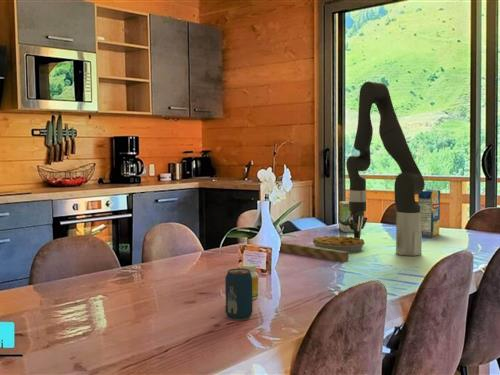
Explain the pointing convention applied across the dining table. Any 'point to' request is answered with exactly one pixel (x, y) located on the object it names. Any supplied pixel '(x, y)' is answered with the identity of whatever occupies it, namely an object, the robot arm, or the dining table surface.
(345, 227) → the tea box
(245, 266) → the supplement bottle
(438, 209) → the beverage box
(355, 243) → the pie
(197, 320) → the dining table surface
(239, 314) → the soda can
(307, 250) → the walnut board
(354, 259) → the dining table surface
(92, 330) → the dining table surface
